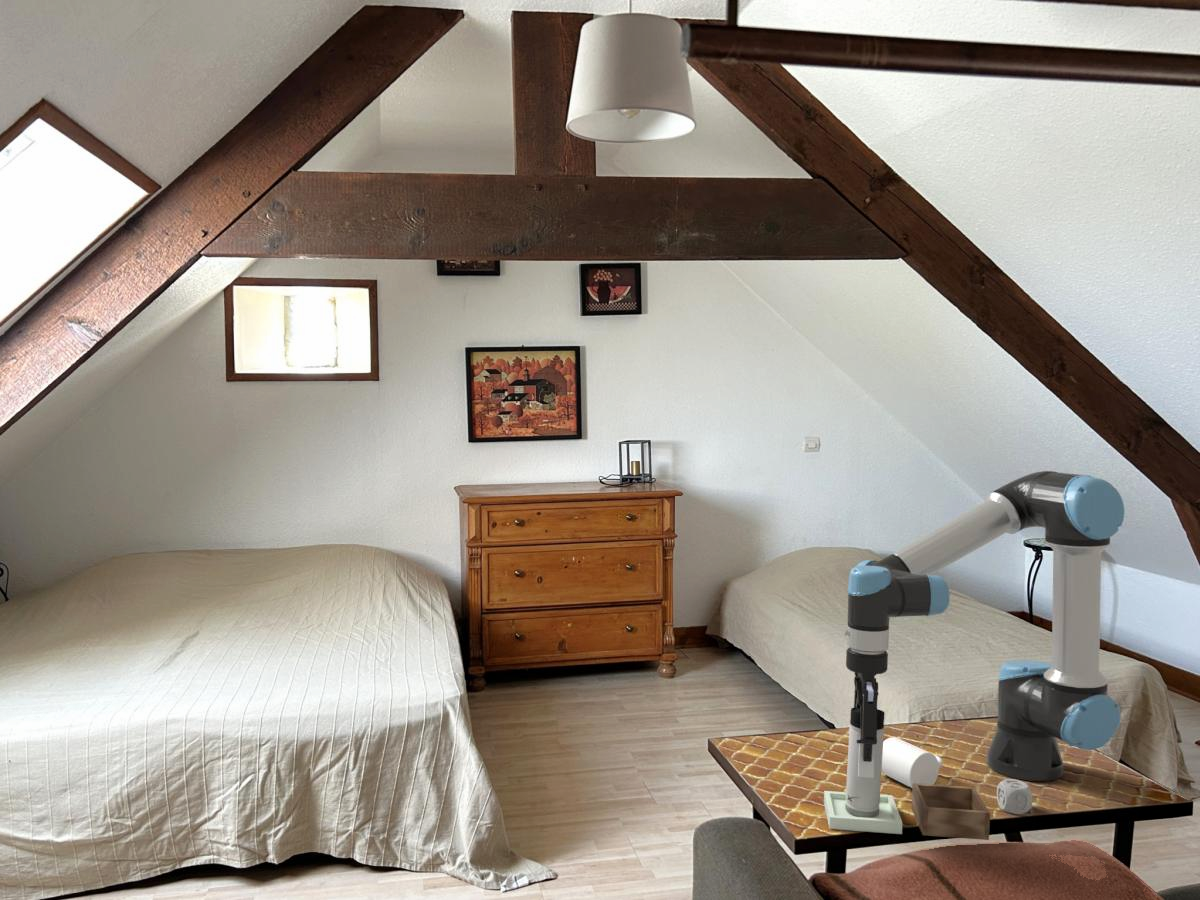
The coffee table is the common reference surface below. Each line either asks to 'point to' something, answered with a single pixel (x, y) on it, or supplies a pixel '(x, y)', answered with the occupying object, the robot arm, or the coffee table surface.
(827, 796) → the tray
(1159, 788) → the coffee table surface
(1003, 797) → the die
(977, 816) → the holder
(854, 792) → the travel mug
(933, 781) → the mug
